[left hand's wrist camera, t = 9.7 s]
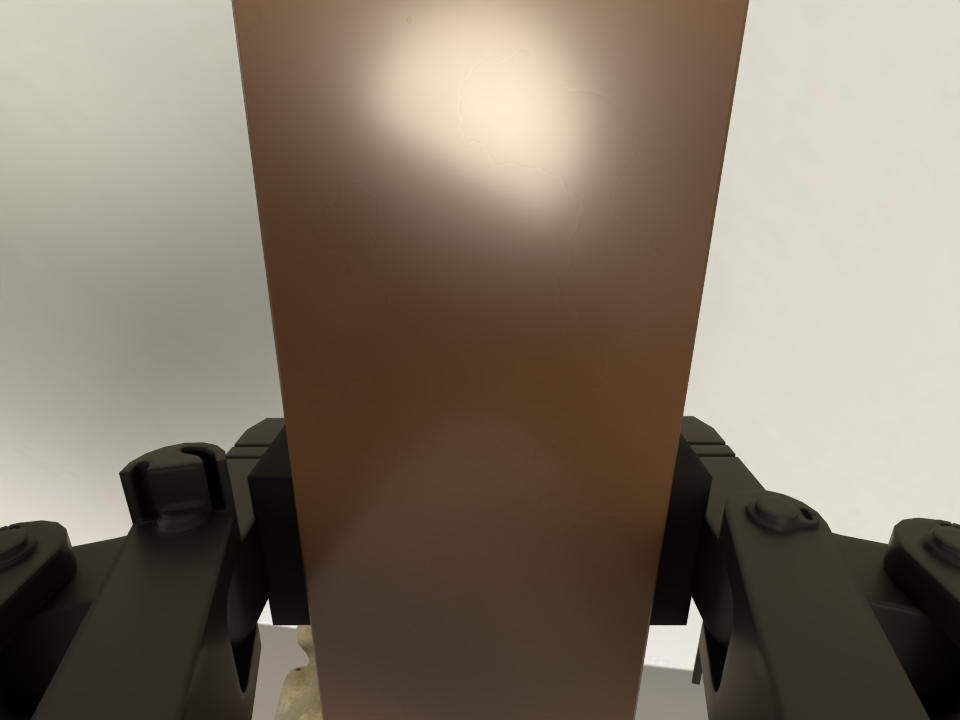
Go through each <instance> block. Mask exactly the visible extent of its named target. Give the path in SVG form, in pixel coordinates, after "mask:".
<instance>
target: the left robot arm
mask: <svg viewBox="0 0 960 720" xmlns="http://www.w3.org/2000/svg"><path fill="white" fill-rule="evenodd" d="M119 475H120V479H121V482H122V486H123V490H124V493H125V497H126V501H127V504H128V508H129V512H130V515H131V519H132V523H133V525H132V527H131V529H130V531H129V533H128V535H127V536H123V537H119V538H115V539H110V540H104V541H99V542H94V543H89V544H84V545H79V546H74V547H72V545H71V542H70V539H69V536H68V533H67V530H66V528H64V527H63V526H62V525H60V524H59V523H58V522H50V521H43V520H41V521H32V522H24V523H23V522H22V523H16V524H12V525H10V526H8V527H7V526H4V527H1V528H0V720H251V719H252V712H253V705H254V697H255V690H256V682H257V675H258V667H259V660H260V652H261V641H260V634H259V628H258V623H257V621H258V619H259V617H260V615H261V613H262V611H263V609H264V606H265V604H266V602H267V600H268V598H269V604H270V610H271V615H272V621H273V625H311V623H310V616H309V608H308V600H307V592H306V584H305V576H304V568H303V560H302V552H301V545H300V537H299V529H298V521H297V513H296V505H295V497H294V489H293V481H292V474H291V466H290V458H289V450H288V442H287V434H286V426H285V418H266V419H265V420H263V421H261V422H260V423H258V424H256V425H254V426H253V427H251V428H249V429H248V430H246V431H245V433H244V434H243V435H242V436H241V437H240V439H239V440H238V441H237V442H236V443H235V447H232V448H231V449H230V451H229V452H228V453H227V454H225V451H224V450H222V449H221V448H220V447H218V446H217V445H213V444H208V443H203V442H201V443H182V444H177V445H172V446H167V447H163V448H160V449H157V450H155V451H152V452H149V453H146V454H144V455H142V456H141V457H139V458H137V459H135V460H133V461H132V462H130V463H129V464H128V465H127V466H126V467H125V468H124V469H123V470H122V471H121V472H120V473H119ZM691 597H692V598H693V600H694V602H695V604H696V606H697V608H698V611H699V613H700V615H701V617H702V619H703V623H702V628H701V633H700V639H699V644H698V649H697V655H696V660H695V665H694V670H693V678H692V683H694V684H700V680H701V674H702V673H703V681H704V688H705V696H706V703H707V710H708V718H709V720H960V525H959V524H955V523H953V524H951V522H948V521H943V520H934V519H925V518H912V519H905V520H902V521H900V522H899V523H898V524H897V525H895V526H894V529H893V532H892V535H891V538H890V541H889V544H884V543H879V542H874V541H869V540H864V539H858V538H853V537H848V536H843V535H839V534H835V533H832V532H831V530H830V528H829V526H828V524H827V523H826V522H825V520H824V519H823V518H822V517H821V516H820V515H819V513H818V512H816V511H815V510H813V509H812V508H810V507H809V506H807V505H806V504H804V503H803V502H801V501H799V500H796V499H794V498H791V497H789V496H787V495H784V494H780V493H776V492H771V491H767V490H765V489H764V488H763V486H762V485H761V484H760V483H759V482H758V480H757V479H756V478H755V477H754V476H753V474H752V473H751V472H750V471H749V470H748V469H747V467H746V466H745V465H744V464H743V463H742V461H741V460H740V459H739V458H738V457H735V453H734V452H733V451H732V450H731V448H730V447H729V446H728V445H725V441H724V440H723V439H722V438H721V437H720V435H719V434H718V433H717V432H716V431H715V429H714V428H712V427H710V426H709V425H707V424H705V423H704V422H702V421H700V420H699V419H697V418H695V417H694V416H683V419H682V425H681V431H680V437H679V444H678V450H677V456H676V463H675V469H674V475H673V481H672V488H671V494H670V500H669V507H668V513H667V519H666V525H665V532H664V538H663V544H662V551H661V557H660V563H659V569H658V576H657V582H656V588H655V594H654V601H653V607H652V613H651V620H650V625H687V619H688V614H689V608H690V602H691Z"/></svg>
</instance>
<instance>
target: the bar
mask: <svg viewBox="0 0 960 720" xmlns="http://www.w3.org/2000/svg"><path fill="white" fill-rule="evenodd" d="M748 4H749V0H232V8H233V16H234V24H235V32H236V40H237V48H238V55H239V63H240V71H241V79H242V87H243V95H244V103H245V111H246V119H247V126H248V134H249V142H250V150H251V158H252V166H253V174H254V182H255V190H256V197H257V205H258V213H259V221H260V229H261V237H262V245H263V253H264V261H265V268H266V276H267V284H268V292H269V300H270V308H271V316H272V324H273V332H274V339H275V347H276V355H277V363H278V371H279V379H280V387H281V395H282V403H283V410H284V418H285V426H286V434H287V442H288V450H289V458H290V466H291V474H292V481H293V489H294V497H295V505H296V513H297V521H298V529H299V537H300V545H301V552H302V560H303V568H304V576H305V584H306V592H307V600H308V608H309V616H310V623H311V631H312V639H313V647H314V655H315V663H316V671H317V679H318V687H319V694H320V702H321V710H322V718H323V720H635V714H636V708H637V701H638V695H639V689H640V682H641V676H642V670H643V664H644V657H645V651H646V645H647V638H648V632H649V626H650V620H651V613H652V607H653V601H654V594H655V588H656V582H657V576H658V569H659V563H660V557H661V551H662V544H663V538H664V532H665V525H666V519H667V513H668V507H669V500H670V494H671V488H672V481H673V475H674V469H675V463H676V456H677V450H678V444H679V437H680V431H681V425H682V419H683V412H684V406H685V400H686V394H687V387H688V381H689V375H690V368H691V362H692V356H693V350H694V343H695V337H696V331H697V324H698V318H699V312H700V306H701V299H702V293H703V287H704V281H705V274H706V268H707V262H708V255H709V249H710V243H711V237H712V230H713V224H714V218H715V211H716V205H717V199H718V193H719V186H720V180H721V174H722V167H723V161H724V155H725V149H726V142H727V136H728V130H729V124H730V117H731V111H732V105H733V98H734V92H735V86H736V80H737V73H738V67H739V61H740V54H741V48H742V42H743V36H744V29H745V23H746V17H747V10H748Z"/></svg>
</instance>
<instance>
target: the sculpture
mask: <svg viewBox="0 0 960 720" xmlns="http://www.w3.org/2000/svg"><path fill="white" fill-rule="evenodd" d="M296 641H297V642H298V644H299V645H300V647H301V648H302V649H303V650H304V651H305V652H306V654H307V655H308V657H309V663H308V665H307V666H304V667H298V668H295V669H293V670H291V671H290V672H289V673H288V675H287V676H286V679H285V681H284V684H283V687H282V690H281V694H280V699H279V703H278V707H277V710H276V714H275V717H274V720H323V718H322V710H321V702H320V694H319V687H318V679H317V671H316V663H315V655H314V647H313V639H312V631H311V625H298V627H297V630H296Z"/></svg>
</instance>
